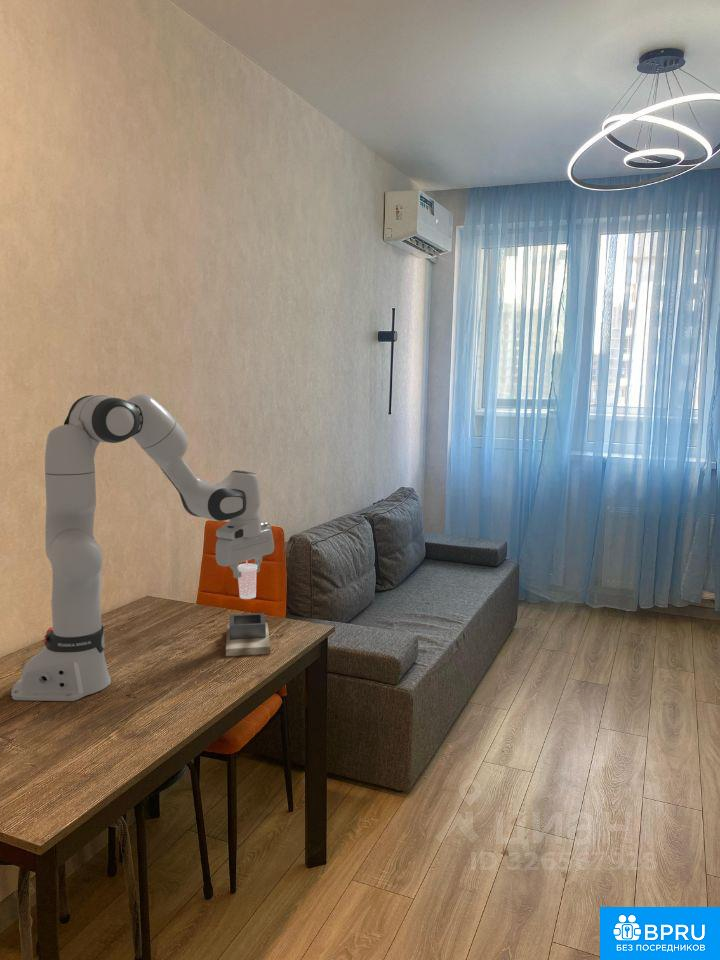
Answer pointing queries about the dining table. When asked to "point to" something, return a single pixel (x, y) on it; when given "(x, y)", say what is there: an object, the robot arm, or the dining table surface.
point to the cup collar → (247, 626)
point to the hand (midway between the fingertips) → (246, 574)
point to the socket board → (247, 645)
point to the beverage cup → (247, 580)
